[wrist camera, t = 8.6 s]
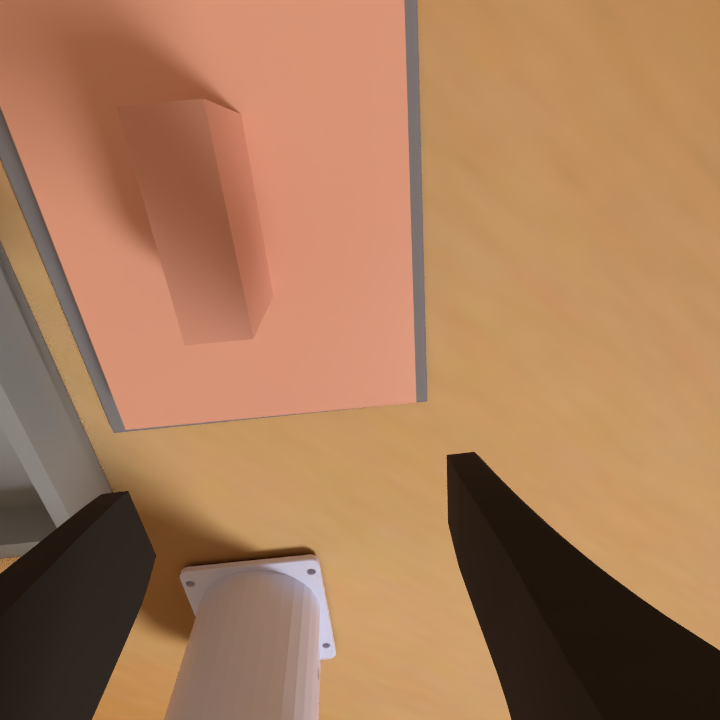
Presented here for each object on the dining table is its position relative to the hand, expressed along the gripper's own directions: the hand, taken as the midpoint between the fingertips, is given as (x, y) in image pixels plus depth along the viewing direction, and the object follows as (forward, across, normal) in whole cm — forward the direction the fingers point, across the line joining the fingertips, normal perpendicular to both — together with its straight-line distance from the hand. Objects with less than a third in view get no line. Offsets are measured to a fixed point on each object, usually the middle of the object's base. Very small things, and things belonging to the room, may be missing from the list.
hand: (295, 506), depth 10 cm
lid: (+9, +2, -6) cm, 11 cm away
